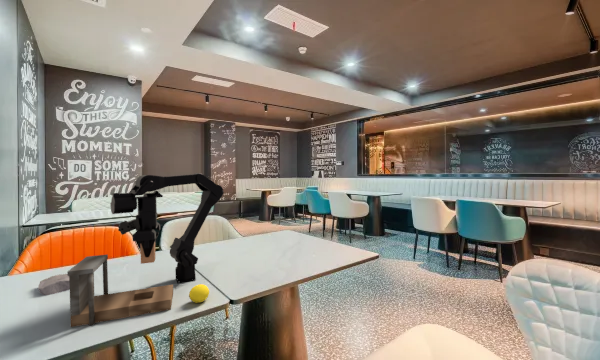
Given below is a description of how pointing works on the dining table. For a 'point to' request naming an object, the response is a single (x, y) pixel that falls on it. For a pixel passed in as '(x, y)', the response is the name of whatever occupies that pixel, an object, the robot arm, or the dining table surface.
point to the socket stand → (110, 296)
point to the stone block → (54, 284)
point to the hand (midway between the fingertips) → (148, 255)
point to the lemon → (199, 293)
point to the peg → (151, 257)
